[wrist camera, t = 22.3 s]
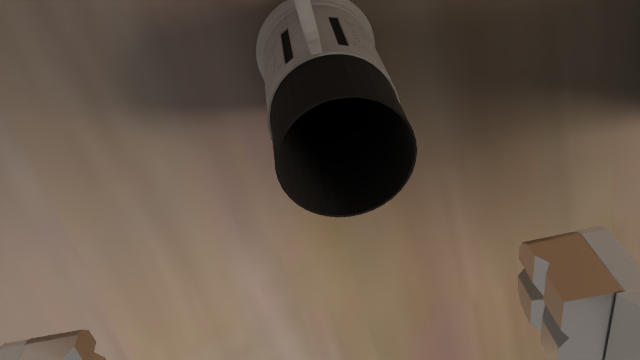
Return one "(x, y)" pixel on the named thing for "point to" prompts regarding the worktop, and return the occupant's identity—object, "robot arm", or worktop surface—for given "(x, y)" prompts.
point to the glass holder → (332, 109)
